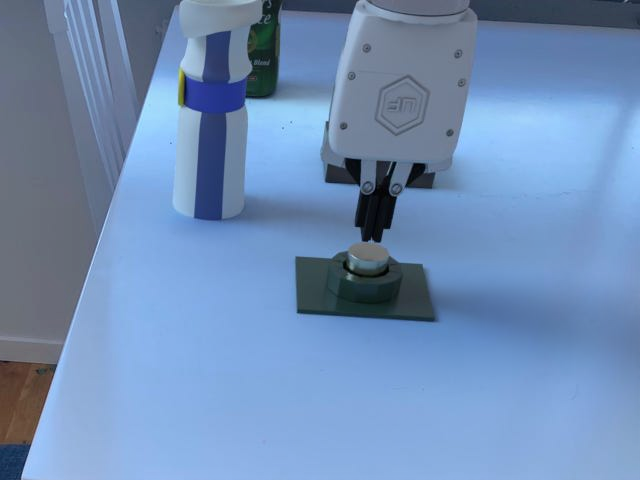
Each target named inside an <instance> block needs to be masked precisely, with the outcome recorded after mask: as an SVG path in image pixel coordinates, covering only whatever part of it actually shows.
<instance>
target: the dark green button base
mask: <svg viewBox="0 0 640 480" xmlns="http://www.w3.org/2000/svg"><path fill="white" fill-rule="evenodd" d="M347 255H348V250H345V251H340V252H338V253H336V254H335V255H334V256H333V257H314V256H298V255H295V257H294V274H295V303H296V304H295V305H296V314H301V315H320V316H335V317H348V318H349V317H351V318H366V319H380V320H381V319H383V320H397V321H413V322H414V321H415V322H429V323H434V322H435V318H436V317H435V313H434V309H433V304H432V300H431V296H430V291H429V287H428V283H427V278H426V274H425V269H424V265H423V264H422V263H414V262H413V263H412V262H411V263H410V262H399V261H398V260H396V259H395V258H393V257H392V256H390V255H389V258H388V263H387V268H386V272H385V275H384V276H382V277H377V278H364V277H358V276H355V275H352V274H350V273H348V272H347V271H346V270H345V266H346V261H347Z"/></svg>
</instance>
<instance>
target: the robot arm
mask: <svg viewBox="0 0 640 480" xmlns="http://www.w3.org/2000/svg"><path fill="white" fill-rule="evenodd" d="M470 2H471V0H357V1H356V4H355V6H354V9H353V11H352V14H351V18H350V21H349V24H348V27H347V30H346V34H345V38H344V42H343V45H342V49H341V52H340V57H339V62H338V64H337V65H338V66H337V71H336V75H335V80H334V85H333V89H332V95H331V101H330V106H329V113H328V120H327V121H328V127H329V129H328V132H327V134H326V137H325V139H324V142H323V141H322V143H323V145H322V144H321V146H320V160H321V161H322V163H323V162H325V163H328V164H331V165H334V166H337V167H340V168H341V167H342V168H345V169H347V171H348V172H349V173H350V175H351V176H352V178H353V179H354V180H355V182H356V183H357V184H356V185H357V186H358V187H359V193H358V199H357V205H356V209H355V210H356V211H355V215H354V228H359V229H360V230H359V231H360V236H361V237H360V238H361V243H369V242H370V241H372V242H373V243H374V244H381V243H382V240H383V235H384V231H385V230H391V229H392V224H393V219H394V214H395V209H396V205H397V200H398V197H399V196H401V195H402V194H403V192H404V190H405V188H408V187H407V186H408V185H409V184H411V183H412V182H413V181H414V180H416V179H417V178H418V177H420V176H421V175H422V174H423V173H433V172H436V173H437V172H443V171H447V170H449V169H450V168H451V167H452V166H453V155H454V154H455V151H456V149H457V146H458V143H459V140H460V135H461V131H462V125H463V121H464V116H465V110H466V106H467V100H468V95H469V89H470V85H471V84H470V83H471V80H472V79H471V78H472V72H473V65H474V59H475V54H476V43H477V36H478V35H477V34H478V15H477V14H476V12H475V11H474V10H473V9H471V7H470ZM377 160H379V161H391V164H390V167H389V170H388V172H387V176H386V177H384V178H383V181H381V184H379V185H378V182H377V178H376V161H377Z"/></svg>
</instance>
